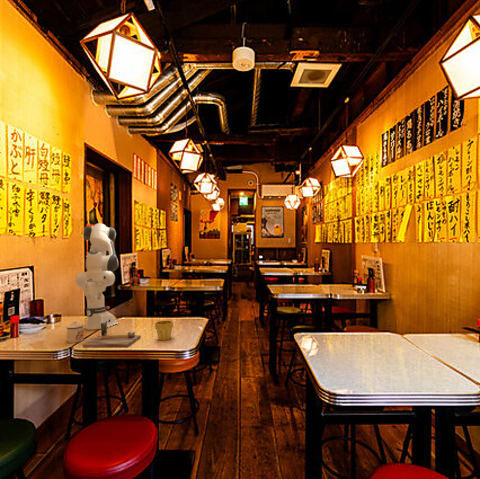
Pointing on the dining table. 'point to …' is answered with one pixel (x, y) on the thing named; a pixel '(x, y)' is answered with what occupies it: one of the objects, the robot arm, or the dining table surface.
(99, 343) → the lever board
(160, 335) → the plant pot
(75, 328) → the teacup with lid
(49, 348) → the dining table surface
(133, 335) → the lever
